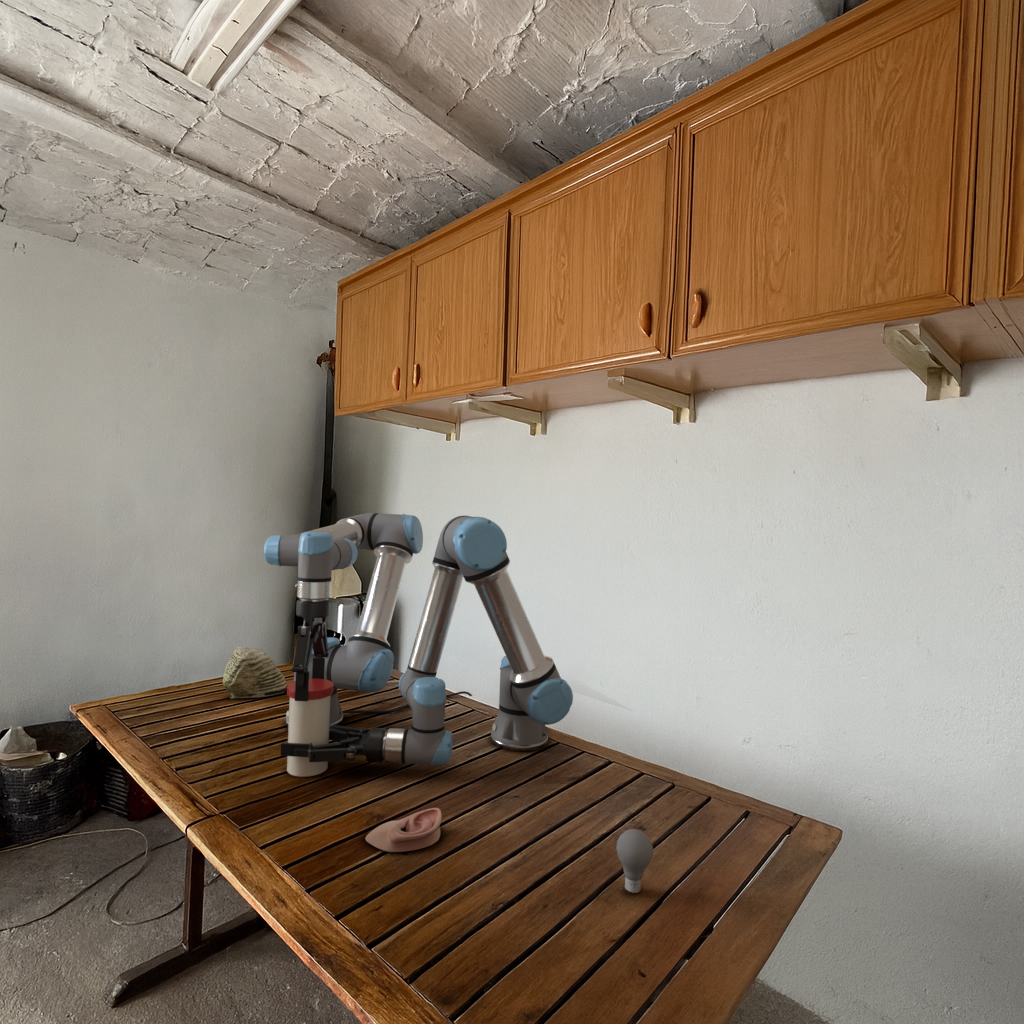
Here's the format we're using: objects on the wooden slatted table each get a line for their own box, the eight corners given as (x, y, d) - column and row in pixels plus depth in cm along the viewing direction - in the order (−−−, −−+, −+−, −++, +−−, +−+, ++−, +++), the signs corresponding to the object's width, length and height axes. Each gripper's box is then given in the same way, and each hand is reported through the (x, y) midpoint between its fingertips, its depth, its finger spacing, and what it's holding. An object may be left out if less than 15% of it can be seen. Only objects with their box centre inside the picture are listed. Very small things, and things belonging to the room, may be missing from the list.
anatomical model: (358, 825, 115) (384, 797, 126) (357, 847, 115) (383, 816, 126) (428, 836, 112) (447, 806, 123) (427, 858, 112) (447, 826, 123)
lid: (287, 687, 150) (287, 679, 150) (332, 685, 154) (332, 677, 153) (286, 701, 140) (286, 692, 140) (334, 698, 144) (334, 690, 144)
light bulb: (610, 879, 108) (613, 822, 108) (644, 879, 109) (647, 822, 109) (619, 902, 102) (622, 840, 102) (655, 901, 103) (658, 840, 103)
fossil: (218, 695, 195) (220, 647, 195) (278, 685, 208) (279, 640, 207) (228, 703, 189) (230, 653, 188) (289, 692, 201) (290, 645, 201)
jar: (287, 761, 150) (290, 681, 150) (327, 758, 153) (330, 680, 153) (286, 778, 142) (289, 693, 141) (328, 774, 144) (331, 691, 144)
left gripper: (313, 591, 158) (309, 677, 159) (279, 606, 135) (274, 708, 135) (343, 592, 158) (339, 679, 159) (314, 608, 135) (310, 709, 135)
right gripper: (374, 782, 136) (270, 777, 136) (394, 743, 158) (304, 739, 158) (375, 747, 136) (271, 742, 136) (395, 713, 158) (305, 709, 158)
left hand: (309, 692), depth 147 cm, fingers open, 11 cm apart
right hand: (289, 740), depth 147 cm, fingers closed on jar, 9 cm apart
